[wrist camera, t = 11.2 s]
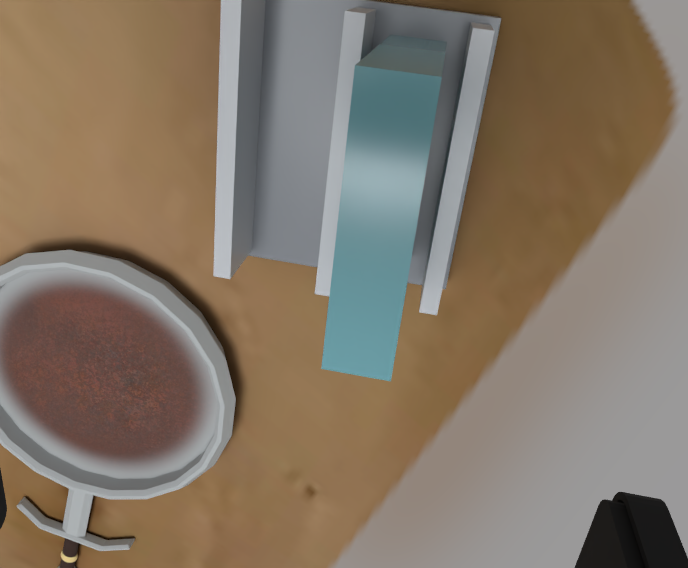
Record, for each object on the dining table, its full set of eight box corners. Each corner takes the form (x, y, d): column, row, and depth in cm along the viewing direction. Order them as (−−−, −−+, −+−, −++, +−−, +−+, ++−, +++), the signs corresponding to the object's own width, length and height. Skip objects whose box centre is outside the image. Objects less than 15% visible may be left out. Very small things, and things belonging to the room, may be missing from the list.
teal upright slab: (390, 34, 28) (354, 65, 18) (446, 41, 27) (441, 77, 18) (362, 249, 32) (321, 368, 22) (410, 256, 32) (390, 381, 22)
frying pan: (-59, 556, 46) (-49, 210, 33) (-31, 524, 49) (-12, 192, 36) (165, 639, 46) (264, 327, 33) (181, 603, 49) (278, 301, 36)
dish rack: (245, -17, 29) (211, -16, 25) (499, 17, 28) (507, 23, 24) (234, 244, 34) (205, 280, 30) (446, 280, 33) (444, 322, 29)
